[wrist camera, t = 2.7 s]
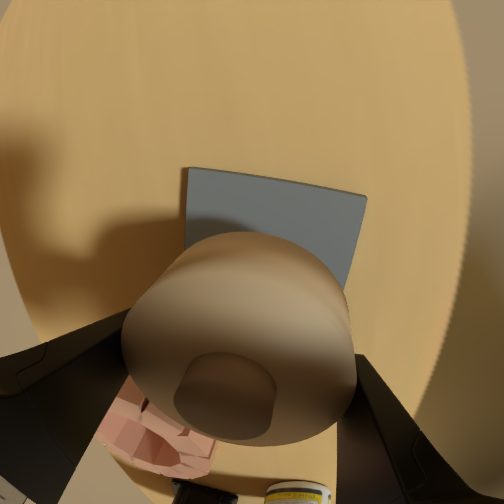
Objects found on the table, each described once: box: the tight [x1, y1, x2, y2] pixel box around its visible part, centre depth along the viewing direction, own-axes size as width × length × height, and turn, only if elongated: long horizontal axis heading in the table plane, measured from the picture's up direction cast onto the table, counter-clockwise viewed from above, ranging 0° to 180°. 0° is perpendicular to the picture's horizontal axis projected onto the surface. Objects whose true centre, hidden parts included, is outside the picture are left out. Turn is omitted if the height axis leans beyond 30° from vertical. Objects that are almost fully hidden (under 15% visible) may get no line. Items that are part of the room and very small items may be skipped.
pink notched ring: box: [93, 374, 220, 479], centre depth 14 cm, size 8×8×4 cm
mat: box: [185, 167, 368, 290], centre depth 12 cm, size 9×6×1 cm, turn 173°
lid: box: [121, 232, 357, 447], centre depth 8 cm, size 6×6×4 cm
